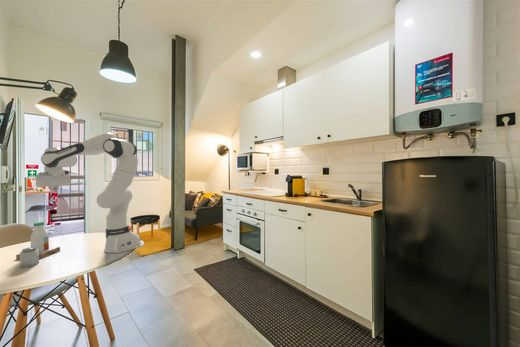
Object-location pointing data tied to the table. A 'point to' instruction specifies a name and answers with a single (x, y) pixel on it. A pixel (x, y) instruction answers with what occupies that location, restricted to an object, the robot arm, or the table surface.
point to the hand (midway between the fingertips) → (54, 192)
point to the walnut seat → (44, 253)
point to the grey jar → (29, 257)
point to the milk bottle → (40, 238)
